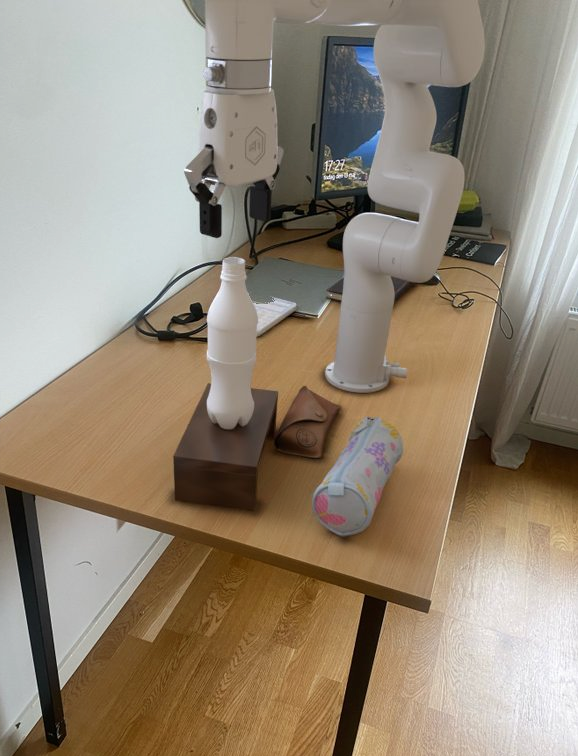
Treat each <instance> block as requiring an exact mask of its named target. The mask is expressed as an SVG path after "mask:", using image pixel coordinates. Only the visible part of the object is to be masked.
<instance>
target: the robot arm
mask: <svg viewBox="0 0 578 756" xmlns="http://www.w3.org/2000/svg"><path fill="white" fill-rule="evenodd" d="M481 14H482V13H481V9H480V5H479V0H204V16H205V17H204V25H205V26H204V29H205V30H204V31H205V36H204V37H205V68H204V70H203V73H202V74H203V78H204V80H205V90H203V95H202V100H201V101H202V102H201V111H200V121H199V132H198V135H199V136H198V153H197V155H196V156H195V157H194V158H193V159H192V160H191V161H190V162H189V163H188V164H187V165H186V166H185V167H184V169H183V173H184V176H185V179H186V181H187V183H188V185H189V187H188V188H189V191H190V192H191V193H192V195H193V196H194V199H195V201H196V202H198V204H199V207H198V208H199V213H198V214H199V234H201V235H204V236H207V237H211V238H215V239H220V238H221V237H222V235H223V216H222V215H223V206H222V204H220V203H219V201H220V199H221V197H222V195H223V192H224V190H225V188H226V187H228V188H236V187H237V188H238V187H241V186H245V185H248V184H253V185H251V186H250V188H249V213H248V214H249V215H248V216H249V217H250V219H253V220H257V221H261V222H264V223H267V222H270V221H271V217H272V212H271V211H272V193H273V190H274V189H275V187H276V178H277V177H278V175H279V172H280V169H281V167H280V166H281V164H282V159H283V156H284V152H285V151H284V148H283V147H281V146H280V145H278V116H277V115H278V114H277V104H276V103H277V102H276V96H275V91H274V89H273V88H271V87H272V63H273V59H272V58H273V43H274V42H273V40H274V23H278V24H293V25H300V24H307V23H309V24H318V25H323V26H338V27H339V26H342V27H357V26H358V27H359V26H360V27H361V26H380V27H379V28H378V29H377V32H376V33H375V37H374V42H373V51H372V53H373V61H374V66H375V69H376V72H377V74H378V78H379V81H380V84H381V89H382V92H383V97H384V115H383V116H384V117H383V121H382V125H381V129H380V134H379V137H378V141H377V144H376V147H375V153H374V157H373V160H372V163H371V167H370V171H369V175H368V180H367V194H368V196H369V198H370V199H371V200H372V201H373V202H374V203H376V204H378V205H381V206H385V207H388V208H393V209H397V210H401V211H407V212H411V213H415V214H419V216H418V217H419V218H418V221H413V220H409V219H404V218H401V217H397V216H393V215H388V214H384V213H378V212H363V213H359V214H357V215H355V216H354V217H353V218H352V219H350V221H349V222H348V223H347V225H346V227H345V229H344V233H343V237H342V257H343V277H344V284H343V294H342V301H341V302H340V309H339V319H338V327H337V336H336V345H335V353H334V361H332V362H331V363H329V364H328V365H327V366H326V368H325V371H324V377H325V379H326V381H327V382H328V383H329V384H330V385H332V386H333V387H335V388H337V389H340V390H342V391H346V392H351V393H357V394H368V393H374V392H378V391H382V390H383V389H384V388H386V387H387V386H388V384H389V381H390V377H395V378H399V379H407V375H408V368H407V367H401V363H400V362H390V361H389V360H387V354H386V353H387V352H386V351H387V345H388V341H389V340H388V339H389V334H390V327H391V321H392V316H393V310H394V304H395V303H394V298H395V293H394V286H393V283H392V280H391V277H390V276H392V277H395V278H399V279H403V280H406V281H410V282H415V284H416V283H417V284H423V283H426V282H428V281H429V280H431V279H433V277H434V276H435V275H436V273H437V271H438V269H439V267H440V265H441V263H442V260H443V257H444V254H445V251H446V248H447V245H448V242H449V238H450V236H451V232H452V229H453V225H454V223H455V220H456V216H457V212H458V209H459V207H460V203H461V200H462V197H463V194H464V193H463V192H464V188H465V168H464V165H463V164H462V161H460V160H459V159H458V158H457V157H456V156H453V155H450V154H447V153H442V152H437V151H436V152H435V151H430V147H431V143H432V139H433V136H434V132H435V129H436V126H437V117H438V116H437V109H436V105H435V102H434V99H433V96H432V94H431V92H430V89H429V88H428V85H429V86H436V87H437V86H438V87H447V88H460V87H463V86H466V85H468V84H469V83H471V82H472V81H473V80H474V79H475V78H476V76H478V73H479V72H480V70H481V67H482V66H483V60H484V58H485V50H486V38H485V37H486V36H485V30H484V29H485V28H484V25H483V20H482V15H481ZM211 186H213V187H212V190H210V188H211Z"/></svg>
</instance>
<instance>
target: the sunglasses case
mask: <svg viewBox="0 0 578 756" xmlns="http://www.w3.org/2000/svg"><path fill="white" fill-rule="evenodd" d="M341 409H342V406H341V405H337V404H336V403H334V402H332V401H330V400H328V399H327V398H326V397H323V396H322V395H320V394H317V392H314V391H313V390H310V389H309V388H308V386H307V385H303V386H302V387H300V389H299V390H298V393H297V394H296V395H295V397H294V398H293V401H292V402H291V405H290V406H289V408H288V410H287V412H286V414H285V416H284V418H283V420H282V422H281V424H280V426H279V428H278V430H277V433H276V434H275V436H274V440H273V446H274V448H275V450H277V452H279V453H283V454H286V455H291V456H295V457H300V458H308V459H320V458H322V456H323V453H324V448H325V442H326V440H327V438H328V434H329V432H330V430H331V428H332V425H333V424H334V423H333V422H334V421H335V418H336V417H337V416H338V414H339V412H340V410H341Z"/></svg>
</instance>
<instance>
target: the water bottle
mask: <svg viewBox="0 0 578 756" xmlns="http://www.w3.org/2000/svg"><path fill="white" fill-rule="evenodd" d="M245 269H246V260H245V259H244V258H242V257H239V256H228V257H225V258H223V259H222V268H221V272H220V273H221V274H220V277H219V278H220V280H221V283H220V287H219V290H218V291H217V293H216V295H215V297H214V299H213V300H212V302H211V304H210V306H209V308H208V312H207V315H206V323H207V350H206V361H207V363H208V366H209V368H210V369H209V370H210V376H211V377H210V379H211V381H210V383H211V388H210V393H209V396H208V398H207V411H208V415H209V417H210V419H211V421H212V422H213V423H214V424H216V423H218V424H219V425H220V427H221V428H223V429H229V430H230V429H234V427H235V426H236V424H237V422H238V423H239V425H240V426H245V425H246V424H247V423H248V422H249V420H250V419H251V417H252V414H253V410H254V401H253V398H252V395H251V387H252V386H251V385H252V384H251V383H252V375H253V371H254V368H255V365H256V363H257V337H256V335H257V324H258V316H257V311H256V308H255V306H254V304H253V302H252V300H251V298H250V296H249V292H248V290H247V285H246V280H247V278H248V276H247V271H246V270H245Z"/></svg>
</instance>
